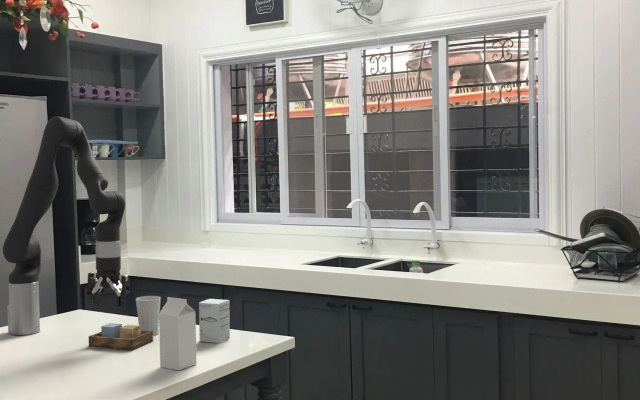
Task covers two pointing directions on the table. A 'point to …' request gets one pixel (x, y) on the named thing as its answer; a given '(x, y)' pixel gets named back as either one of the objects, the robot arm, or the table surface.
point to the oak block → (130, 331)
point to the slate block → (111, 330)
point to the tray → (120, 341)
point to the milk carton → (177, 334)
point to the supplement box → (214, 320)
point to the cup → (148, 313)
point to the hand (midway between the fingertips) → (108, 306)
